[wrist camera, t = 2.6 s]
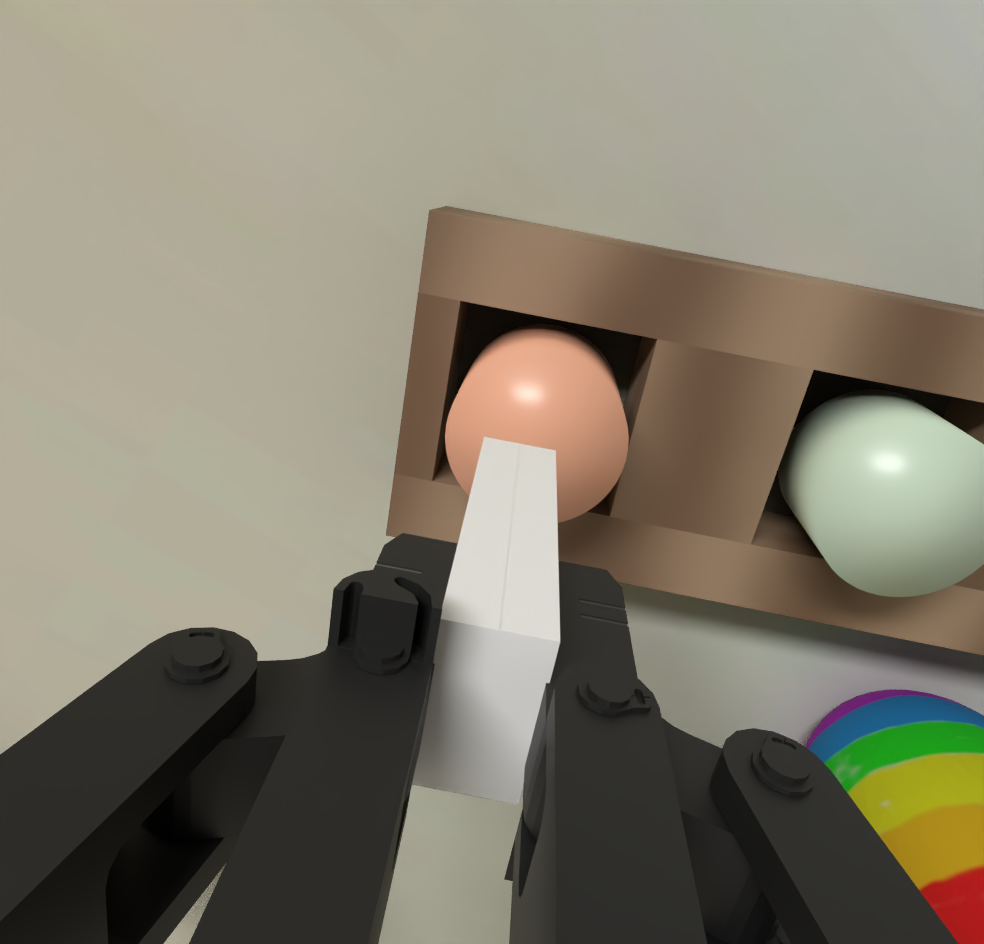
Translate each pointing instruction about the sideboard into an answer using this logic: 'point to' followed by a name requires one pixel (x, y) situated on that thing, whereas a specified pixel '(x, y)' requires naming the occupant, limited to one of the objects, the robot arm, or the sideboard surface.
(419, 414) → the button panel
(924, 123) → the sideboard surface
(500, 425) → the terracotta button
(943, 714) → the decorative egg
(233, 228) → the sideboard surface
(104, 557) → the sideboard surface
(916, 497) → the sage button
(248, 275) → the sideboard surface
